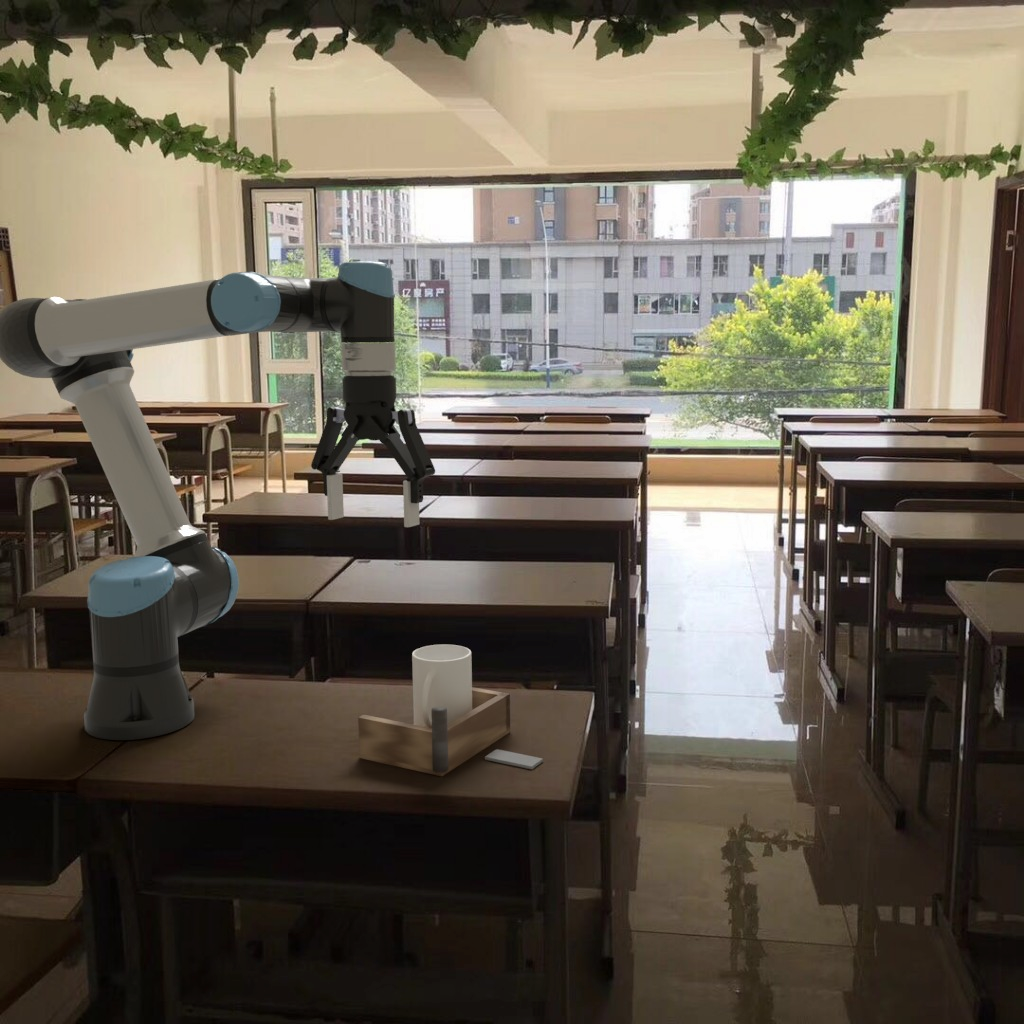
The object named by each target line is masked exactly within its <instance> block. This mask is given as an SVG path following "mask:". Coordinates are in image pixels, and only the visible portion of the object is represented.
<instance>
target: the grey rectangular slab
mask: <svg viewBox="0 0 1024 1024" xmlns="http://www.w3.org/2000/svg"><path fill="white" fill-rule="evenodd" d="M484 760H485V761H490V762H494V763H495V762H496V763H500V764H504V765H508V766H513V767H519V768H523V769H528V770H533V769H535V768H536V767H537V766H539V765H540V764H542V763H543V762H544V759H543V758H541V757H537V756H532V755H528V754H522V753H518V752H514V751H513V752H512V751H507V750H503V749H498V748H497V749H495V750H493V751H492V752H490V753H488V754H487V755H486V756H484Z"/></svg>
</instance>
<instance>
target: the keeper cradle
mask: <svg viewBox="0 0 1024 1024" xmlns="http://www.w3.org/2000/svg"><path fill="white" fill-rule="evenodd" d="M431 716H432V728H428V727H423V726H418V725H414V723H408V722H403V721H398V720H394V719H393V720H392V719H389V718H384V717H377V716H373V715H368V714H362V715H360V716H359V717H358V718H357V720H358V723H357V724H358V748H359V750H358V751H359V754H358V755H359V758H360V759H363V760H368V761H371V762H376V763H381V764H386V765H390V766H393V767H399V768H402V769H407V770H412V771H417V772H421V773H425V774H428V775H429V774H430V775H434V776H439V777H443V776H445V775H446V774H448V773H450V772H451V771H453V770H454V769H456V768H457V767H459V766H461V765H462V764H464V763H465V762H467V761H468V760H469V759H471V758H473V757H474V756H476V755H477V754H478V753H481V752H482V751H483V750H485V749H487V748H488V747H490V746H491V745H493V744H494V743H495V742H497V741H499V740H500V739H502V738H503V737H505V736H507V735H508V734H510V733H511V693H507V692H501V691H495V690H491V689H484V688H478V687H473V686H472V710H471V711H470V712H468V713H466V714H464V715H463V716H461V717H459V718H458V719H456V720H454V721H452V722H451V723H449V724H448V723H447V708H446V707H441V706H439V707H434V708H432V709H431Z"/></svg>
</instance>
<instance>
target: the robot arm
mask: <svg viewBox="0 0 1024 1024" xmlns="http://www.w3.org/2000/svg"><path fill="white" fill-rule="evenodd" d="M393 279H394V277H393V270H392V268H391V266H390V265H389V264H388V263H386V262H381V261H350V262H349V261H346V262H342V263H341V264H339V266H338V273H337V276H334V277H328V278H327V277H326V278H325V277H324V278H323V277H322V278H321V277H320V278H319V277H318V278H317V277H316V278H315V277H313V278H311V277H310V278H308V277H305V278H304V277H293V276H282V275H281V276H280V275H273V274H272V275H271V274H263V273H258V272H254V271H240V272H232V273H227V274H226V275H224V276H223V277H221V278H219V279H211V280H210V279H209V280H203V281H197V282H192V283H184V284H178V285H172V286H166V287H165V286H163V287H159V288H153V289H146V290H140V291H134V292H133V291H132V292H127V293H120V294H114V295H108V296H102V297H95V298H89V299H86V298H75V299H64V298H62V297H57V296H53V297H52V296H51V297H46V298H43V297H42V298H41V297H31V298H29V297H28V298H22V299H17V300H16V301H13V302H11V303H9V304H8V305H6V306H5V307H3V308H2V310H1V311H0V360H1V361H2V363H4V364H5V366H6V367H8V368H10V369H11V370H12V371H13V372H15V373H18V374H19V375H22V376H26V377H29V378H33V379H35V378H36V379H51V380H52V382H53V384H54V386H55V388H56V391H57V393H58V395H59V397H60V399H62V400H64V401H67V402H69V403H71V404H73V405H74V406H75V409H76V410H77V412H78V415H79V417H80V419H81V421H82V424H83V427H84V428H85V431H86V433H87V435H88V438H89V440H90V441H91V444H92V447H93V450H94V451H95V453H96V456H97V458H98V460H99V463H100V465H101V467H102V470H103V472H104V475H105V477H106V479H107V480H108V483H109V485H110V487H111V490H112V492H113V494H114V497H115V499H116V502H117V503H118V506H119V508H120V510H121V513H122V514H123V517H124V519H125V522H126V525H127V526H128V528H129V530H130V533H131V535H132V538H133V540H134V542H135V544H136V551H135V552H134V553H135V554H134V556H132V557H128V558H126V559H118V560H115V561H112V562H110V563H109V562H108V563H106V564H104V565H102V566H100V567H99V568H96V570H95V571H94V572H93V573H92V574H91V575H90V577H89V580H88V587H87V588H88V593H87V599H86V603H87V608H88V615H89V627H90V637H91V638H90V639H91V648H92V649H91V651H92V661H93V662H92V665H93V679H92V683H91V684H92V685H91V687H90V690H89V692H90V693H89V697H88V702H87V706H86V708H85V711H84V713H83V720H84V731H85V732H86V733H87V734H88V735H90V736H92V737H94V738H97V739H102V740H110V741H111V740H112V741H132V740H133V741H134V740H142V739H149V738H155V737H158V736H159V737H160V736H163V735H166V734H169V733H173V732H176V731H178V730H180V729H182V728H184V727H186V726H188V725H190V723H192V721H193V720H194V719H195V715H196V714H195V701H194V698H193V696H192V695H191V694H190V689H189V688H188V685H187V682H186V679H185V677H184V675H183V673H182V670H181V668H180V662H179V661H180V660H179V643H178V642H179V641H178V638H179V637H181V636H184V635H185V634H186V635H187V634H188V633H190V632H192V631H194V630H197V629H199V628H202V627H206V626H207V625H209V624H212V623H214V622H216V621H217V620H218V619H219V618H221V617H223V616H224V615H225V614H227V613H228V612H229V611H230V610H231V608H232V607H233V605H234V603H235V601H236V598H237V596H238V593H239V587H240V583H239V582H240V580H239V579H240V578H239V573H238V570H237V566H236V565H235V563H234V560H233V559H231V557H230V556H229V555H228V554H227V553H226V552H225V551H222V550H221V549H219V548H218V547H215V546H211V543H210V540H209V538H208V536H207V534H206V531H204V530H202V529H200V528H197V527H195V526H193V525H192V524H191V522H190V520H189V517H188V515H187V513H186V511H185V509H184V507H183V504H182V502H181V500H180V498H179V495H178V492H177V490H176V488H175V485H174V483H173V482H172V479H171V476H170V473H169V472H168V470H167V467H166V465H165V463H164V461H163V459H162V455H161V453H160V452H159V449H158V447H157V445H156V442H155V440H154V438H153V435H152V433H151V431H150V429H149V427H148V425H147V421H146V420H145V417H144V414H143V412H142V411H141V408H140V406H139V403H138V401H137V399H136V397H135V394H134V392H133V390H132V388H131V384H130V383H131V381H132V378H133V376H134V374H135V370H134V367H133V365H132V360H133V359H134V352H133V350H136V349H144V348H150V347H151V348H152V347H157V346H158V347H159V346H165V345H166V346H167V345H170V344H171V345H173V344H177V343H178V344H180V343H185V342H194V341H200V340H207V339H214V338H221V337H228V336H233V337H234V336H238V335H245V334H246V335H247V334H254V333H268V332H271V333H273V332H274V333H276V332H277V333H283V334H287V333H289V334H295V333H316V332H319V333H320V332H334V333H335V332H340V341H341V342H340V343H341V368H342V369H341V370H342V371H343V372H346V375H344V376H343V378H342V399H343V401H344V402H345V408H344V407H342V406H333V407H332V406H330V407H328V408H327V410H326V419H325V420H326V421H325V425H324V428H323V431H322V434H321V436H320V438H319V440H318V441H319V442H318V444H317V447H316V450H315V453H314V455H313V458H312V460H311V465H310V467H311V469H313V470H314V471H315V470H316V471H319V472H320V473H321V474H322V476H323V477H322V478H323V479H322V480H323V494H324V496H325V497H327V520H330V521H332V520H338V519H342V518H344V517H345V516H344V514H345V513H344V512H345V511H344V508H345V507H344V487H343V486H344V485H343V484H344V483H343V482H344V481H343V479H344V478H343V473H340V472H341V470H340V468H341V467H342V464H343V463H344V462H345V461H346V460H347V457H348V456H349V455H350V453H351V452H352V450H353V449H354V447H355V446H356V445H357V443H358V442H359V441H363V440H370V441H379V442H380V443H381V444H383V445H384V446H385V447H386V448H387V450H388V452H389V453H390V454H391V456H392V457H393V458H394V461H396V463H397V465H398V466H399V467H400V469H401V470H402V471H403V474H404V475H405V476H406V479H405V480H403V482H402V484H403V485H402V487H403V489H402V490H403V491H402V492H403V493H402V494H403V526H404V528H411V527H416V526H419V525H420V504H421V503H423V500H424V479H425V478H427V477H430V476H434V475H435V473H436V469H435V466H434V464H433V462H432V459H431V457H430V454H429V452H428V450H427V447H426V445H425V442H424V440H423V439H422V435H421V433H420V431H419V429H418V426H417V421H416V414H415V410H414V409H413V408H406V409H405V408H404V409H399V410H396V408H395V402H396V399H397V377H395V375H392V372H395V371H396V369H397V368H396V367H397V363H396V360H397V359H396V343H395V298H396V294H395V293H394V292H395V291H394V280H393ZM344 422H346V423H347V425H346V428H345V429H344V430H343V432H342V433H341V431H342V428H343V426H344ZM394 424H396V425H398V428H399V430H400V431H399V430H397V428H396V427H395V425H394ZM400 433H401V434H400ZM340 434H341V438H340V439H339V436H340ZM401 436H402V438H403V439H401ZM403 441H404V442H403Z"/></svg>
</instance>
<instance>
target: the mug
mask: <svg viewBox="0 0 1024 1024" xmlns="http://www.w3.org/2000/svg"><path fill="white" fill-rule="evenodd" d="M411 654H412V655H411V662H412V701H413V702H412V703H413V724H414V725H418V726H423V727H428V728H432V716H431V709H432V708H434V707H439V706H441V707H446V708H447V723H448V724H449V723H451V722H452V721H454V720H456V719H458V718H459V717H461V716H463V715H464V714H466V713H468V712H470V711H471V710H472V687H473V672H472V670H473V669H472V667H473V666H472V651H471V649H469V648H468V647H465V646H462V645H456V644H446V643H445V644H443V643H442V644H433V645H432V644H431V645H425V646H422V647H420V648H416V649H415V650H413V651H412V653H411Z"/></svg>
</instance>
